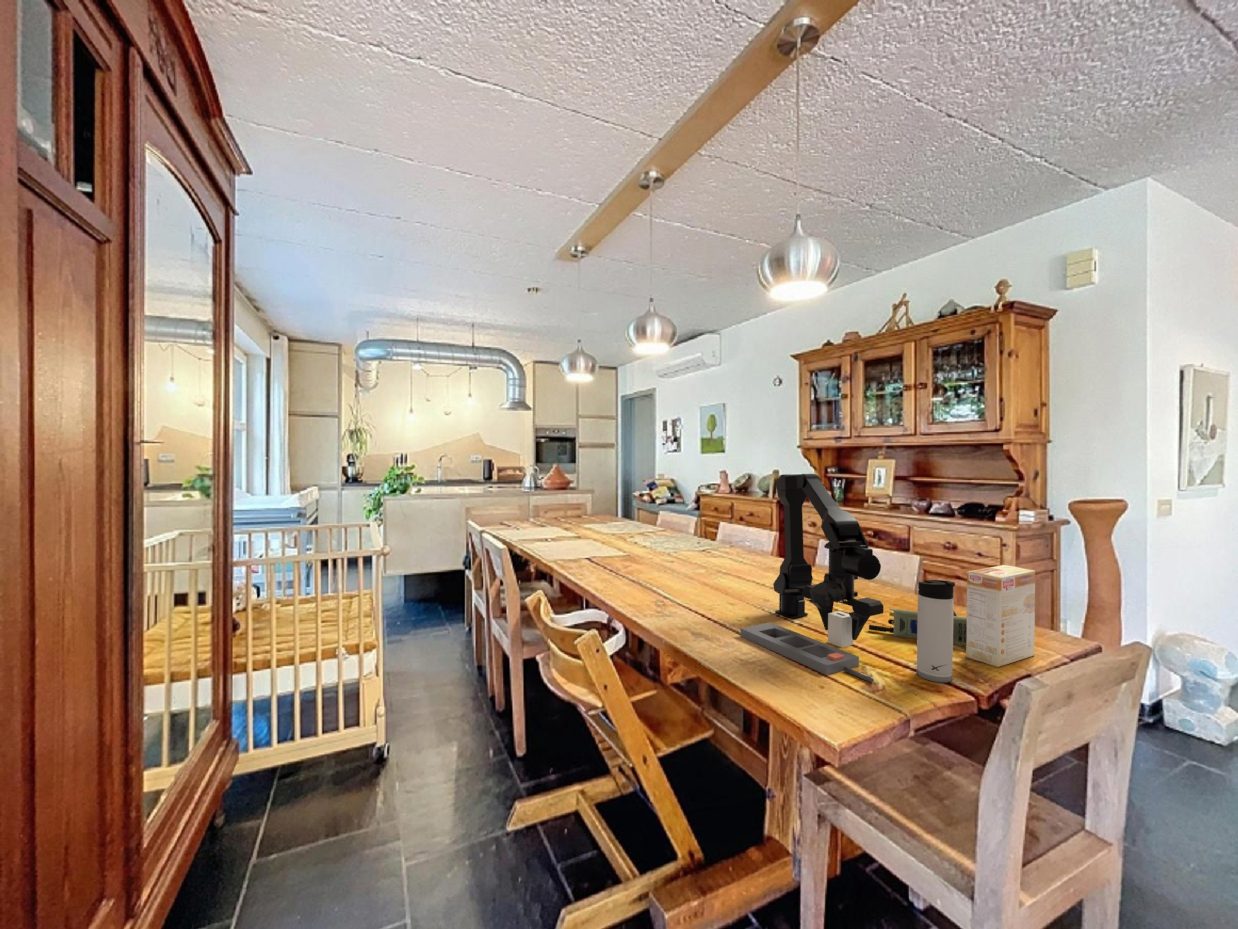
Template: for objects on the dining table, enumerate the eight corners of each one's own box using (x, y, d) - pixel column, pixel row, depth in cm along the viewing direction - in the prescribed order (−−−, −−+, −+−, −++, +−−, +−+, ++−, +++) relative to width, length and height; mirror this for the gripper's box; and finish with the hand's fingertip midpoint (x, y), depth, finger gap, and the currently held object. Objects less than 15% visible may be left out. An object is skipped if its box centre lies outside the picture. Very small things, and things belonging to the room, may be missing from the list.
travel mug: (942, 686, 103) (943, 584, 103) (910, 673, 109) (911, 577, 108) (960, 680, 106) (962, 581, 105) (928, 668, 112) (930, 574, 111)
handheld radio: (987, 650, 123) (868, 634, 134) (984, 646, 126) (868, 630, 136) (987, 622, 123) (869, 607, 134) (984, 618, 126) (869, 604, 137)
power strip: (740, 636, 131) (740, 625, 131) (770, 630, 136) (770, 620, 136) (856, 688, 102) (856, 675, 102) (889, 678, 107) (889, 665, 107)
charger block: (827, 642, 127) (828, 613, 127) (839, 639, 129) (839, 610, 129) (841, 647, 124) (842, 617, 123) (853, 644, 125) (853, 615, 125)
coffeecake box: (1001, 645, 125) (1002, 564, 125) (1036, 656, 119) (1037, 570, 118) (963, 656, 118) (965, 570, 118) (998, 668, 112) (1000, 577, 112)
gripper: (787, 566, 130) (786, 628, 131) (852, 582, 114) (852, 653, 114) (818, 561, 136) (817, 621, 136) (885, 576, 119) (884, 645, 119)
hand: (840, 634), depth 126 cm, fingers open, 7 cm apart
